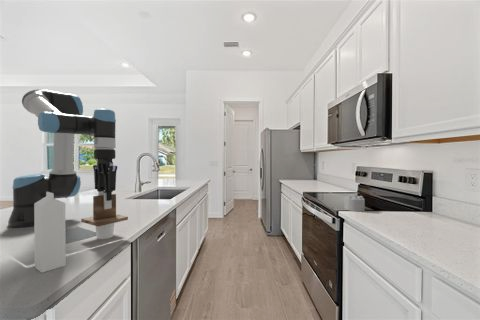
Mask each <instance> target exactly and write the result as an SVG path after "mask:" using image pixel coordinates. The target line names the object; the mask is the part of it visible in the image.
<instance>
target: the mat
mask: <svg viewBox="0 0 480 320" xmlns="http://www.w3.org/2000/svg"><path fill="white" fill-rule="evenodd" d="M65 237H66V245H67V244H70V243H75V242H79V241H82V240H86V239H90V238H94V237H97V235H96V231H93V230H89V229H86V228H84V227H80V226H75V227H70V228H65Z"/></svg>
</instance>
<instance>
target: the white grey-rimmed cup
mask: <svg viewBox="0 0 480 320" xmlns="http://www.w3.org/2000/svg"><path fill="white" fill-rule="evenodd" d="M114 228H115V223H111V224H107V225H102V226H95V232H96V235H97V236H96V239H98V240H107V239H112V237H114V230H115V229H114Z"/></svg>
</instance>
